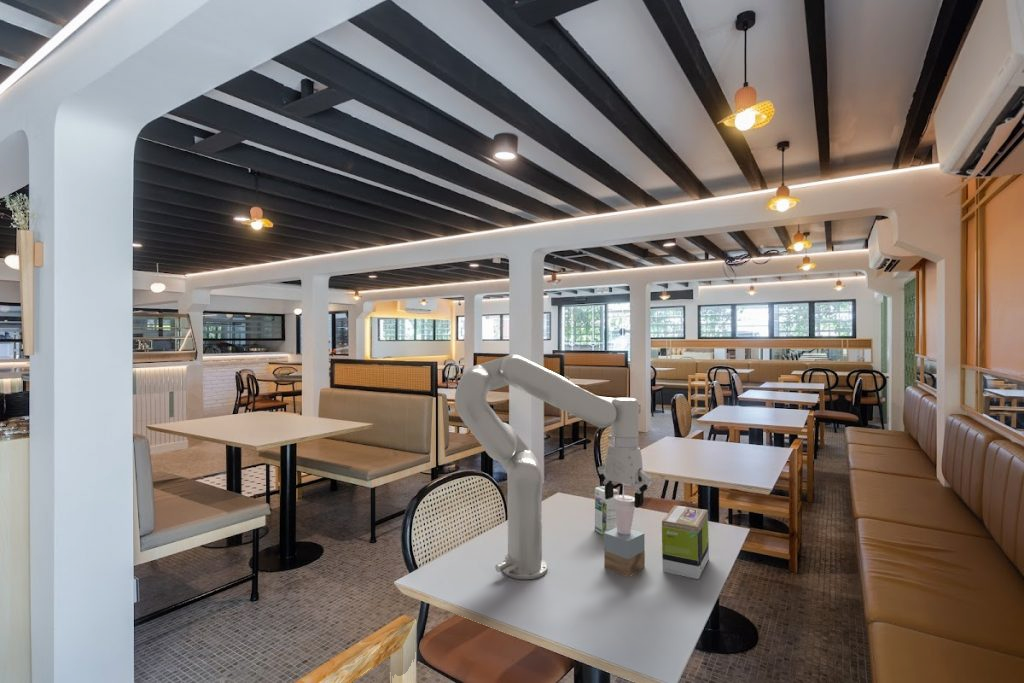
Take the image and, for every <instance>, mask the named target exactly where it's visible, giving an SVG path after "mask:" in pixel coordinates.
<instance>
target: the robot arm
mask: <svg viewBox="0 0 1024 683" xmlns="http://www.w3.org/2000/svg"><path fill="white" fill-rule="evenodd" d="M509 385H510V386H512V387H513V388H516V389H518V390H520V391H522V392H524V393H527V394H529V395H531V396H532V397H535V398H537V399H539V400H540V401H543V402H545V403H547V404H548V405H551V406H552V407H555V408H557V409H559V410H562V411H564V412H567V413H569V414H570V415H572V416H574V417H576V418H578V419H580V420H582V421H585V422H586V423H589V424H591V425H592V426H595V427H598V428H608V427H609V426H610V427H611V428H610V434H608V435H607V439H608V440H609V441H610V444H608V446H607V450H606V453H605V463H604V464H602V465H600V466H598V467H597V471H598V473H599V477H600V479H601V480H602V484H603V485H604V486H605V499H610V498H612V497H613V489H615V487H614V483H617V484H622V485H623V484H624V485H625V486H629V487H630V486H631V487H633V488H634V490H635V493H634V497H635V508H637V509H638V508H640V507H642V506H644V505H643V504H644V501H645V500H644V492H646V491H647V490H648V489H649V488H650V486H651V484H652V482H653V481H654V480H653V478H652V477H651V476H649V475H648V474H647V473H646V472H645V471H644V469H643V467H644V466H643V457H642V451H641V448H640V447H639V427H640V426H639V421H640V420H639V419H640V418H639V417H640V416H639V414H640V411H639V410H640V404H639V401H638V399H636V398H634V397H627V396H625V397H624V396H623V397H607V396H600V395H596V394H594V393H592V392H590V391H588V390H586V389H584V388H581V387H580V386H579V385H576V384H574V383H573V382H572V381H570V380H568V379H567V378H566V377H564V376H562V375H560V374H558V373H556V372H554V371H552V370H550V369H548V368H546V367H544V366H541V364H540V365H539V364H537V363H536V362H534V361H531V360H529V359H527V358H525V357H523V356H521V355H520V354H516V353H515V354H514V353H512V354H507V355H505V356H502V357H499V358H496V359H493V360H490V361H486V362H483V363H480V364H475V365H472V366H470V367H468V368H467V369H466V370H464V372H463V373H462V375H461V377H460V379H459V381H458V384H457V387H456V390H455V394H454V403H455V408H456V412H457V414H458V416H459V417H460V419H461V420H462V422H463V424H465V425H466V427H467V428H468V430H469V431H470V433H471V434H472V435H473V437H474V438H475V439H476V440H477V441H478V443H479V444H480V445H481V447H482V448H483V450H484V451H485V453H486V454H487V455H488V456H489V458H491V459H493V460H494V461H497V462H499V464H500V465H501V467H503V469H504V470H505V472H506V474H507V478H506V479H507V480H506V481H507V555H504V557H505V558H504V560H503V562H500V563H497V564H495V567H494V568H495V571H496V573H497V572H498V573H500V572H503V573H504V574H505V575H506V576H508V577H509V578H513V579H516V580H535V579H538V578H541V577H543V576H544V575H546V573H547V572H548V564H547V562H546V561H545V560H543V557H542V556H543V553H542V552H543V549H542V548H543V544H542V539H543V536H542V533H543V530H542V529H543V528H542V526H543V525H542V524H543V523H542V522H543V520H542V515H543V514H542V513H543V512H542V508H543V507H542V506H543V505H542V504H543V502H542V500H543V498H542V497H543V495H542V494H543V479H544V478H543V472H542V468H541V465H540V462H539V460H538V458H537V457H536V455H535V454H534V453H533V451H532V450H531V449H530V448H529V447H528V445H527V444H526V442H525V441H524V440H523V439H522V437H520V435H519V433H518V432H517V431H516V430H515V429H514V427H513V426H512V425H510V424H508V423H507V422H504V421H502V419H500V417H499V416H498V414H497V413H496V412H495V411H494V409H493V408H492V407H491V406H490V404H489V403H488V401H487V394H488V392H490V391H493V390H497V389H500V388H503V387H506V386H509ZM643 480H644V483H642V482H643Z"/></svg>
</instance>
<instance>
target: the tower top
mask: <svg viewBox="0 0 1024 683" xmlns="http://www.w3.org/2000/svg"><path fill="white" fill-rule="evenodd" d="M603 551H607V552H610V553H612V554H615V555H617V556H620V557H623V558H625V559H630V558H632V557H634V556H635V555H637V554H639V553H641V552H643V551H645V533H644V532H641V531H639V530H635V529H632V528H631V532H630V534H628V535H623V534H619V533H618V532H617V527H616V528H614V529H612V530H609V531H607V532H605V533H604V536H603Z"/></svg>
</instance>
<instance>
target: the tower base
mask: <svg viewBox="0 0 1024 683" xmlns="http://www.w3.org/2000/svg"><path fill="white" fill-rule="evenodd" d="M603 551H604V550H603ZM603 556H604V557H603V558H604V561H603V562H604V566H603V567H604V568H605V569H607V570H610V571H612V572H614V571H615V573H618V574H620V575H622V576H625V577H628V578H630V577H632V576H634V574H637V573H639V572H640V571H642V570H643V569H645V567H646V565H645V564H646V563H645V562H646V560H645V558H646V557H645V556H646V551H645V550H644V551H643V552H641V553H639V554H637V555H635V556H634V557H632V558H630V559H625V558H623V557H620V556H617V555H615V554H612V553H610V552H607V551H604V555H603ZM631 575H632V576H631Z"/></svg>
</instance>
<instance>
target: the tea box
mask: <svg viewBox="0 0 1024 683" xmlns="http://www.w3.org/2000/svg"><path fill="white" fill-rule="evenodd" d="M709 540H710V538H709V510H708V509H703V508H702V509H701V508H696V507H690V506H682V505H676V504H675V505H673V507H672V508H671V510H669V512H668V513H667V514H666V515H665V517H664V518H663V519H662V520H661V543H662V544H661V545H662V546H661V551H662V552H661V553H662V557H661V558H662V561H661V562H662V563H661V564H662V565H661V566H662V571H663V572H664V573H667V572H668V574H671V573H672V575H675V574H677V575H676V576H680V575H681V577H684V576H685V578H689V579H690V578H691V579H694V580H699V579H700V576H701V575H702V573H703V571H704V570H705V567H706V564H707V562H708V561H709V558H710V551H709V550H710V548H709V547H710V546H709V542H710V541H709Z"/></svg>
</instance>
